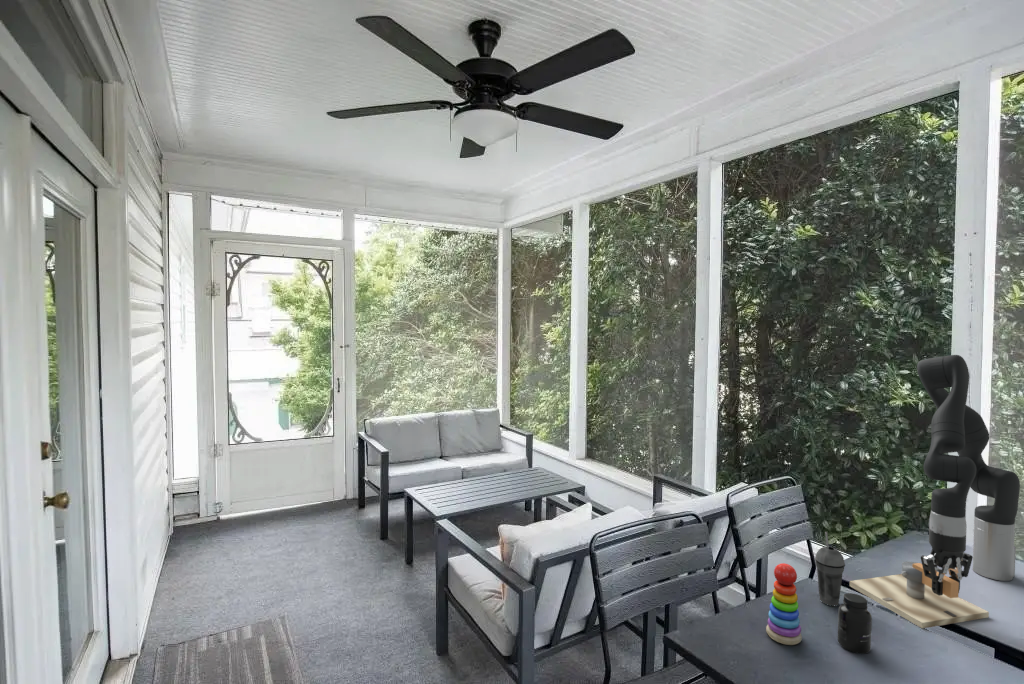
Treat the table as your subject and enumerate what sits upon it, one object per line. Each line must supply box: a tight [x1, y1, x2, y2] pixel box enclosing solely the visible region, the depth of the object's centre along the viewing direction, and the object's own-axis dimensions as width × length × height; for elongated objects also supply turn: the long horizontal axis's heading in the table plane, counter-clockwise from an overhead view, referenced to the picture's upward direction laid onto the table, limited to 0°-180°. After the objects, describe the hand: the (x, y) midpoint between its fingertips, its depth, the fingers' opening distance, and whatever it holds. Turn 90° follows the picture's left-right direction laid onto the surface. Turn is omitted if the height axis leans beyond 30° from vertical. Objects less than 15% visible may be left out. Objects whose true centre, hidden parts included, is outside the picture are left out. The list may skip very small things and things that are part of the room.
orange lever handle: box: [901, 561, 960, 598], centre depth 143 cm, size 14×8×4 cm, turn 9°
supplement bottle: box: [837, 592, 873, 655], centre depth 127 cm, size 7×7×12 cm
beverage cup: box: [814, 531, 846, 607], centre depth 147 cm, size 7×7×20 cm
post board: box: [849, 573, 990, 629], centre depth 147 cm, size 22×22×6 cm
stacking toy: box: [765, 562, 803, 646], centre depth 131 cm, size 8×8×19 cm
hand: (945, 592), depth 139 cm, fingers open, 4 cm apart
